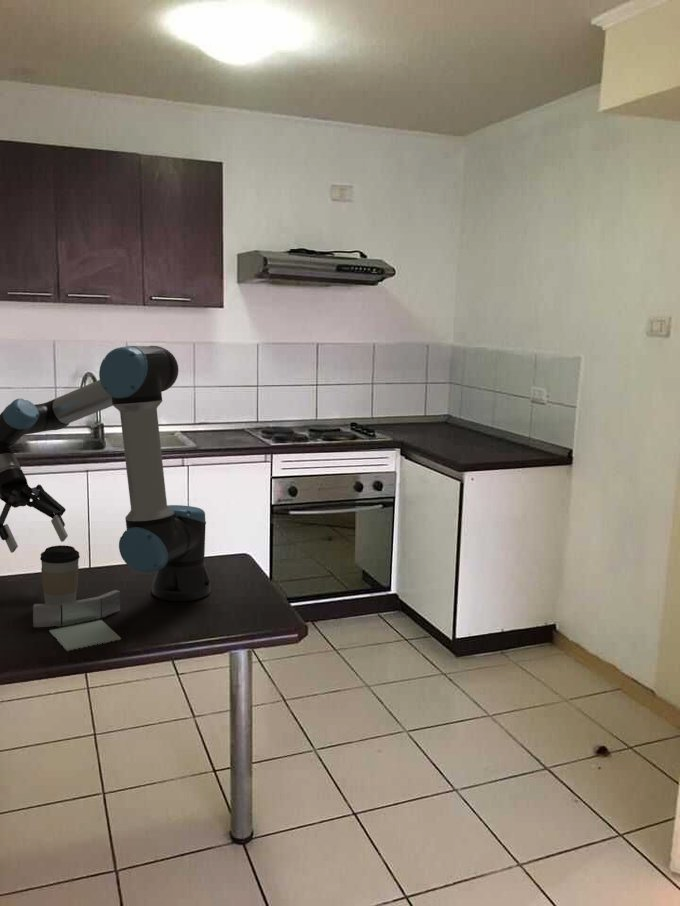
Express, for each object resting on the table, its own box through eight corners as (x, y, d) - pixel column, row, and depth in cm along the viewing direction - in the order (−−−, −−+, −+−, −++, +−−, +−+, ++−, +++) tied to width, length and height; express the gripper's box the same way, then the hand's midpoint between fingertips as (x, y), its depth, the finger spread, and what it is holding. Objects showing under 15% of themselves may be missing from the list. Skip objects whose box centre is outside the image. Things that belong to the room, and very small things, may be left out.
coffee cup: (47, 599, 193) (46, 541, 190) (84, 600, 193) (83, 542, 191) (35, 612, 184) (34, 552, 181) (74, 613, 184) (74, 553, 182)
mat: (101, 621, 181) (101, 619, 181) (120, 639, 171) (120, 637, 171) (49, 631, 173) (49, 630, 173) (66, 651, 164) (66, 649, 164)
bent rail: (117, 608, 189) (117, 589, 188) (124, 614, 186) (124, 594, 185) (31, 625, 176) (31, 604, 176) (36, 631, 173) (36, 610, 172)
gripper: (45, 477, 209) (78, 542, 202) (-47, 490, 189) (-14, 562, 183) (56, 461, 205) (90, 527, 198) (-37, 472, 185) (-3, 546, 179)
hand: (40, 544), depth 191 cm, fingers open, 13 cm apart
